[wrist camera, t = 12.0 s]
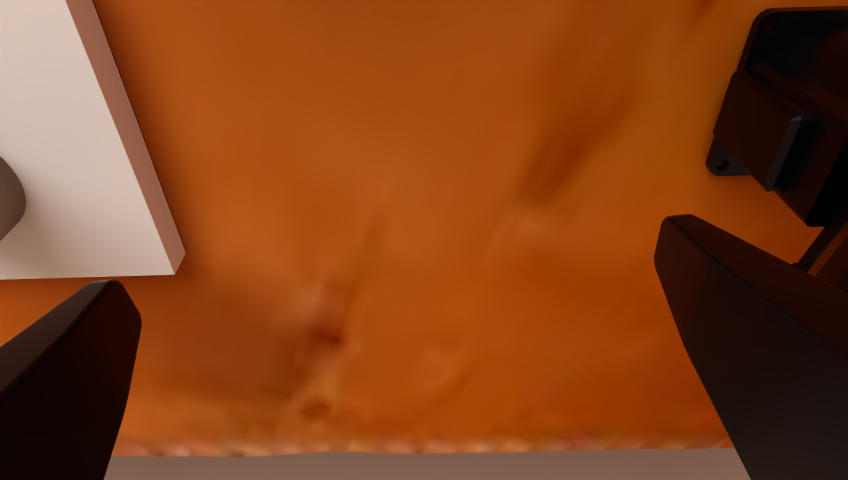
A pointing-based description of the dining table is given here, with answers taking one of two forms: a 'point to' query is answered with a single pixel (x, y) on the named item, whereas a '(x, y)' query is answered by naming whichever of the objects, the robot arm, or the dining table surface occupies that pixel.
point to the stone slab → (76, 152)
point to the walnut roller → (10, 199)
